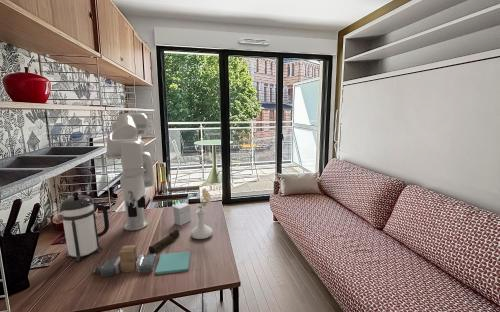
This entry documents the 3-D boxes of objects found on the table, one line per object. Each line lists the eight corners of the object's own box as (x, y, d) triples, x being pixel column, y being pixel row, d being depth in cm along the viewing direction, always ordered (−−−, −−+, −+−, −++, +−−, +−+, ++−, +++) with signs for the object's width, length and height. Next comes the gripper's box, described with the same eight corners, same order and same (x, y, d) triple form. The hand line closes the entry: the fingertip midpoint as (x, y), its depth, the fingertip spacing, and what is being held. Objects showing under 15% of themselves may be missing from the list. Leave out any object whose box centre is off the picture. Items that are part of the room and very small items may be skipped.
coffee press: (97, 260, 113) (88, 196, 107) (57, 264, 110) (46, 199, 105) (111, 240, 130) (104, 184, 124) (77, 243, 127) (68, 186, 121)
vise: (99, 265, 109) (98, 257, 108) (156, 259, 113) (155, 251, 112) (91, 277, 101) (90, 268, 100) (152, 271, 105) (151, 262, 104)
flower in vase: (203, 243, 126) (200, 195, 121) (186, 237, 131) (183, 192, 127) (218, 232, 137) (217, 187, 132) (202, 227, 143) (200, 184, 138)
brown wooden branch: (154, 255, 116) (153, 246, 115) (148, 253, 118) (147, 244, 117) (183, 237, 133) (182, 229, 132) (177, 235, 134) (177, 227, 134)
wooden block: (125, 265, 109) (123, 246, 108) (137, 263, 110) (135, 244, 108) (121, 272, 104) (119, 252, 103) (134, 271, 105) (132, 251, 103)
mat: (161, 256, 115) (160, 254, 115) (190, 253, 117) (190, 251, 117) (155, 274, 103) (155, 272, 102) (188, 270, 105) (188, 268, 105)
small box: (185, 218, 155) (183, 202, 153) (191, 220, 151) (190, 204, 149) (174, 223, 148) (173, 206, 146) (180, 225, 145) (179, 208, 143)
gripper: (132, 167, 110) (136, 204, 113) (113, 177, 93) (119, 221, 96) (150, 166, 110) (153, 203, 113) (134, 176, 93) (139, 220, 96)
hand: (137, 211), depth 105 cm, fingers open, 9 cm apart
